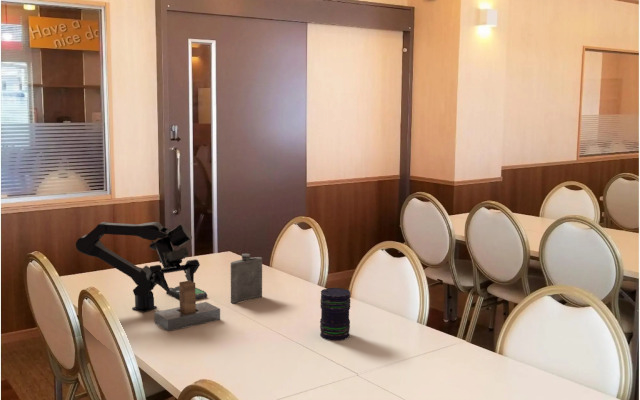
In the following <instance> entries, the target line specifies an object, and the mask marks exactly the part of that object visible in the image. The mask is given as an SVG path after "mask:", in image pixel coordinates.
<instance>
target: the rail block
mask: <svg viewBox="0 0 640 400" xmlns="http://www.w3.org/2000/svg"><path fill="white" fill-rule="evenodd" d="M220 320H221V308H219V307H217V306H215V305H213V304H212V303H209V302H207V301H203V302H199V303H196V312H192V313H187V314H183V313H181V312H180V306H178V307H174V308H169V309H165V310H159V311H155V312H154V324H155V325H157V326H159V327H160V328H162V329H163V330H165V331H167V332H170V331H175V330H179V329H185V328H189V327H193V326H198V325H203V324H207V323H211V322H216V321H220Z"/></svg>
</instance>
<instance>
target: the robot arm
mask: <svg viewBox="0 0 640 400" xmlns="http://www.w3.org/2000/svg"><path fill="white" fill-rule="evenodd" d="M104 235H114V236H115V235H117V236H131V237H132V236H134V237H138V238H141V239H143V240H144V239H145V240H147V241H151V243H150V245H148V246H149V249H152V250H153V251H156V252H157V254H158V257H159V260H158V262H159V264H156V265H150V266H148V265H144V266H143V267H139V266H138V265H136V264H134V263H132V262H130V261H129V260H127V259H126V258H124V257H122V256H121V255H119V254H117V253H115V252H114V251H113V250H111V249H109V248H107V247H106V246H105V245H104V243H103V242H102V241H101V238H103V236H104ZM192 239H193V237H192V234H191V232H190V229H188V228H187V227H186V226H184V224H183V223H180V224H179V225H177V226H176V227H175V228H173V229H170V228H168V227H166V226H164V225H163V224H162V223H161V222H159V221H150V222H144V223H138V224H136V223H119V222H117V223H116V222H107V221H102V222H100V223H98V224H97V225H96V227H94V228H93V229H92V230H91V231H90V232H89V233H87V234H85V235H82V236H81V237H80V238H78V239H77V240H76V242H75V247H76V250H77V251H78V252H79V253H82V254H84V255H86V256H89V257H94V258H98V259H99V260H101V261H103V262H104V263H106V264H108V265H109V266H110V267H113V268H115V269H116V270H118V271H119V272H121V273H123V274H125V275H126V276H127V277H129V278H130V279H131V280H132V281H133V283H135V285H136V286H135V287H134V288H133V290H132V292H133V295H134V306H132V308H131V310H135V311H139V312H143V313H144V312H149V311H151V310H153V309H154V310H155V309H156V308H157V307H158V306H157V305H155V297H154V292H153V290H154V288H155V287H156V286H157V285H158V286H160V288H162V289H163V290H164V291H165V292H166V291H167V292H168V293H169V292H170V290H169V288H170V287H169V285H168V282H167V280H166V278H165V274H169V273H176V272H180V271H181V272H182V271H183V272H184V273H185V274H184V276H185V278H186V281H189V280H190V281H192V282H194V278H195V277H194V276H195V273H196V272H197V271H198V270H199V267H200V266H201V263H200V261H199V260H198V259H196V258H195V259H190V260H186V263H185V264H182V263H183V260H184V259H186V257H188V256H189V255H190V253H189V250H188V247H181V246H183V245H184V244H186V243H188V242H190V241H191V240H192ZM174 247H178V248H179V247H181V248H180V249H174ZM160 264H161V265H160ZM194 283H195V282H194Z"/></svg>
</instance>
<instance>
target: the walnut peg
mask: <svg viewBox="0 0 640 400" xmlns="http://www.w3.org/2000/svg"><path fill="white" fill-rule="evenodd" d="M178 286H179V290H180V300H179V307H180V312H181V313H183V314H187V313H192V312H196V304H197V303H196V301H197V300H196V296H195V287H196V282H192V281H190V280H189V281H188V280H184V281H179V285H178Z"/></svg>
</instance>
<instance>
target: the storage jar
mask: <svg viewBox="0 0 640 400" xmlns="http://www.w3.org/2000/svg"><path fill="white" fill-rule="evenodd" d="M320 310H321V311H320V313H321V315H320V316H321V318H320V321H319V323H320V325H319V329H320V334H319V336H320V337H321V338H322V339H323V340H327V341H331V342H333V341H334V342H338V341H345V340H348V339H349V338H350V330H351V329H350V328H351V325H350V324H351V320H350V310H351V291H350V290H348V289H347V288H341V287H329V288H324V289H321V291H320Z"/></svg>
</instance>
